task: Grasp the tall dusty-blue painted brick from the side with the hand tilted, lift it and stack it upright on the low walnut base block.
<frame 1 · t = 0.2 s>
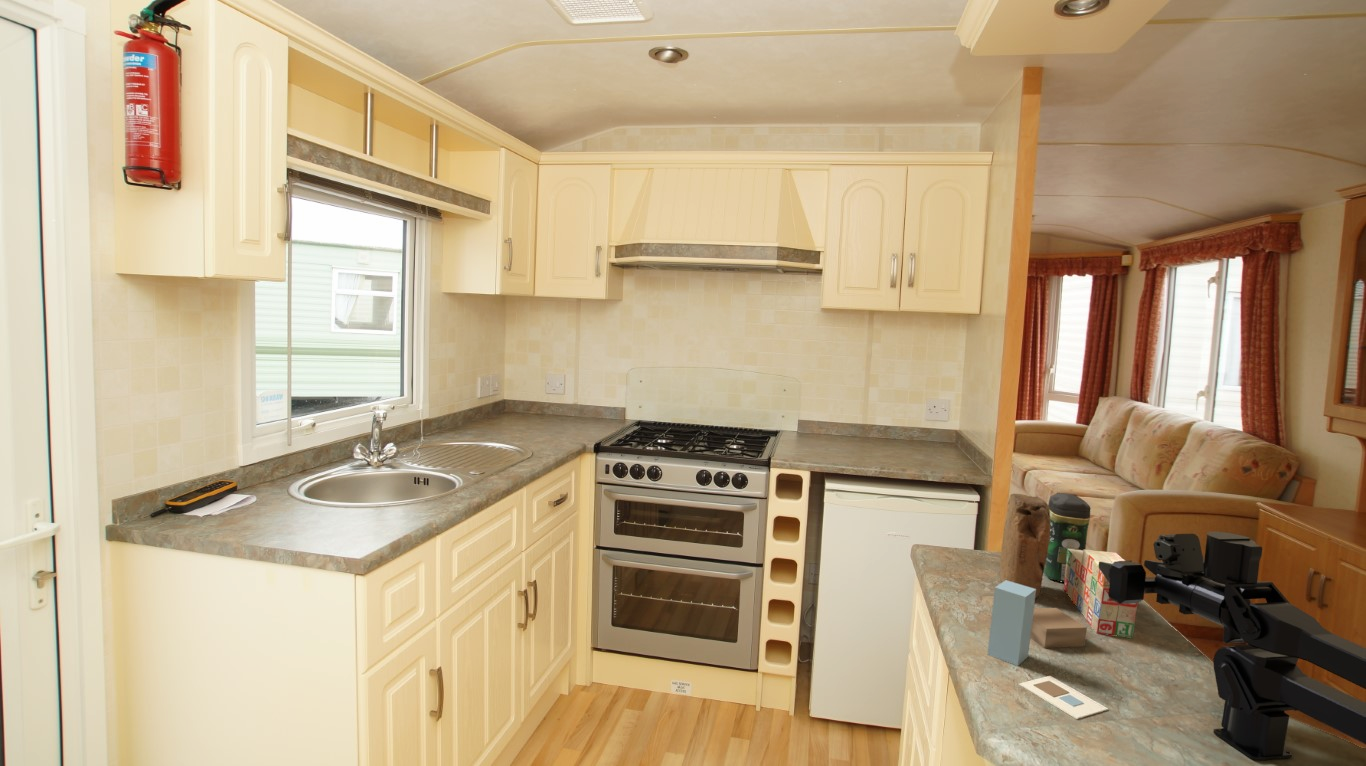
hand: (1122, 563, 125), 17 cm above the countertop, tool horizontal, fingers open, 9 cm apart
block: (1019, 591, 154), on the countertop
walnut base: (1049, 636, 133), on the countertop
stack of blocks: (1094, 613, 145), on the countertop
blue brick: (1007, 655, 125), on the countertop
instruction page: (1062, 696, 112), on the countertop
coffee jar: (1060, 577, 164), on the countertop
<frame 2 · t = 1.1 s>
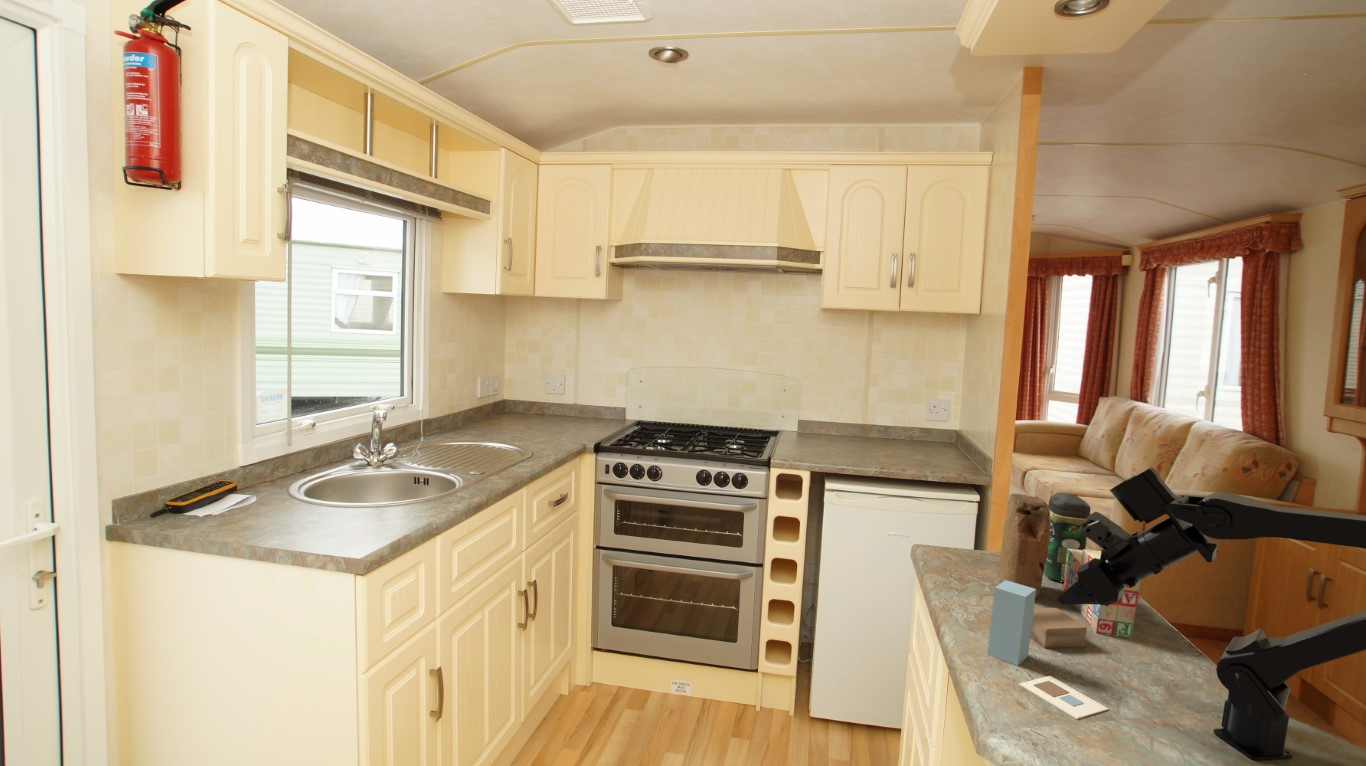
hand: (1068, 594, 118), 14 cm above the countertop, tool tilted 45°, fingers open, 9 cm apart
nothing on the countertop moved.
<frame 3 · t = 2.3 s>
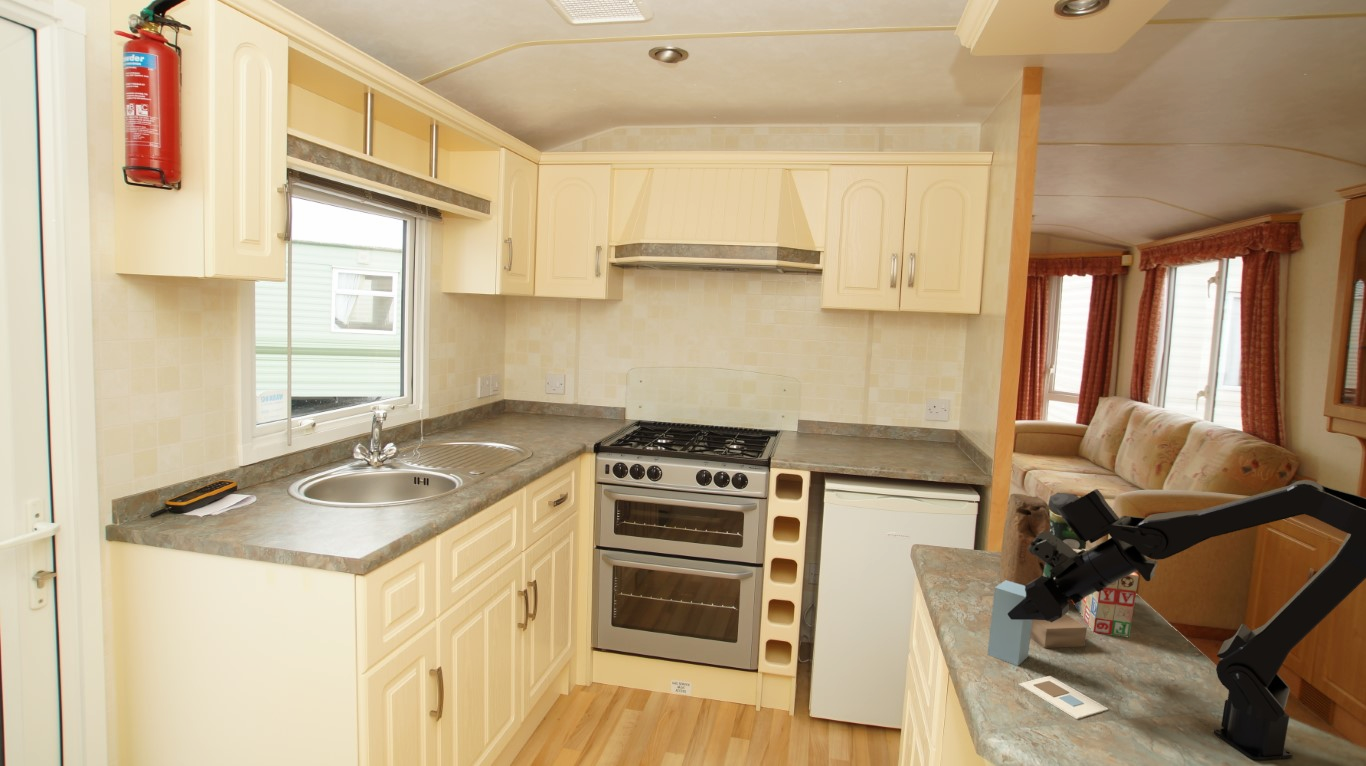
hand: (1019, 608, 123), 9 cm above the countertop, tool tilted 45°, fingers open, 9 cm apart
nothing on the countertop moved.
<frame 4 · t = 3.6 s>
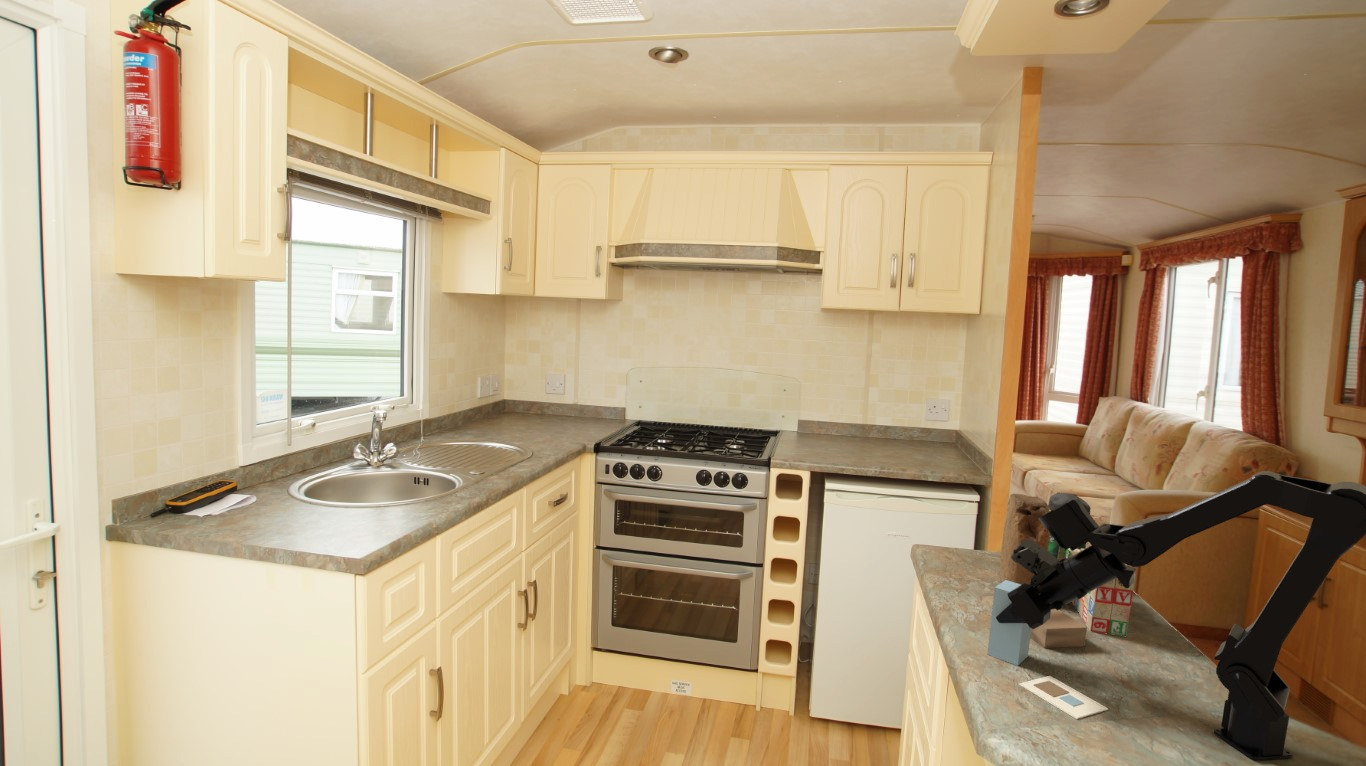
hand: (1003, 615, 125), 7 cm above the countertop, tool tilted 45°, fingers closed on blue brick, 5 cm apart
blue brick: (1007, 655, 125), on the countertop, touching gripper
everything else where it was.
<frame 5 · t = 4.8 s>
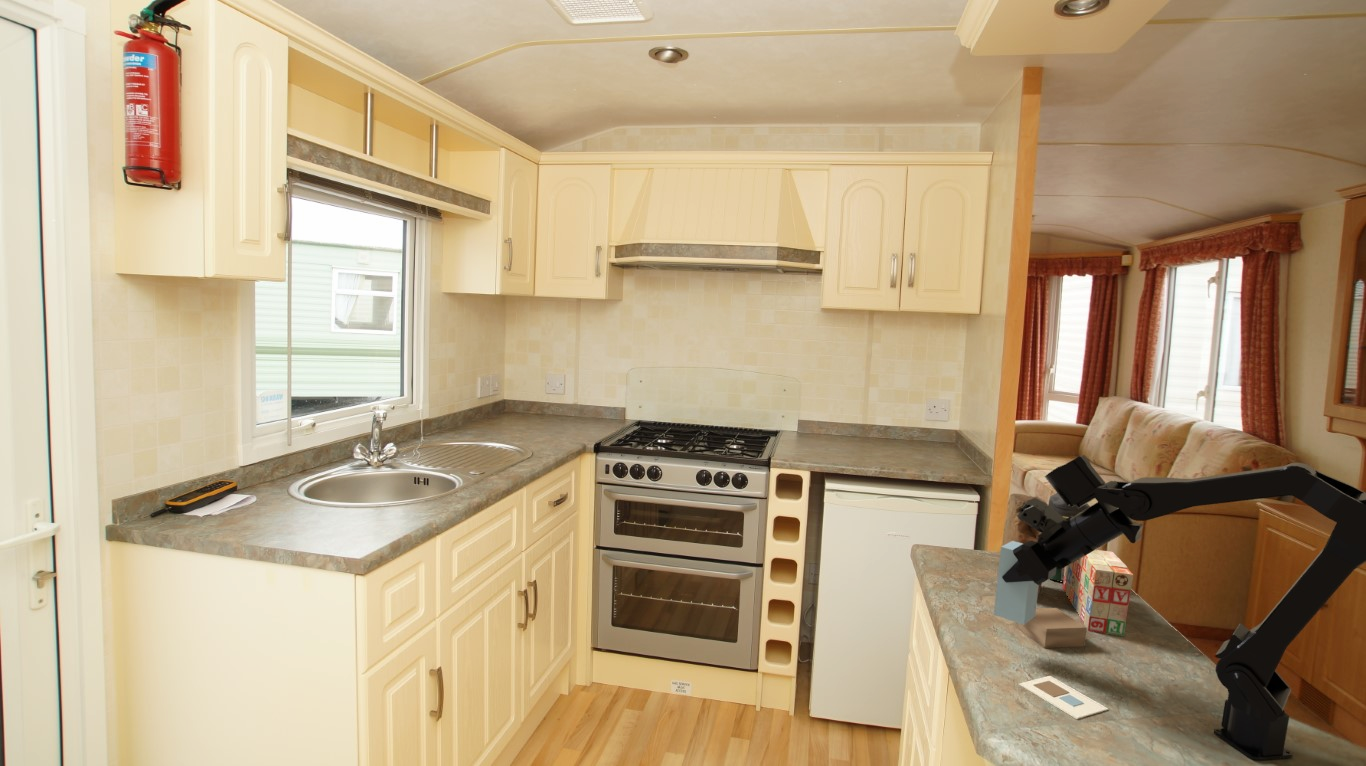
hand: (1010, 575, 125), 13 cm above the countertop, tool tilted 45°, fingers closed on blue brick, 5 cm apart
blue brick: (1014, 615, 125), point 7 cm above the countertop, touching gripper
everything else where it was.
when the fingers open (11 cm above the countertop, at t = 6.5 s): blue brick stays where it is, resting on walnut base.
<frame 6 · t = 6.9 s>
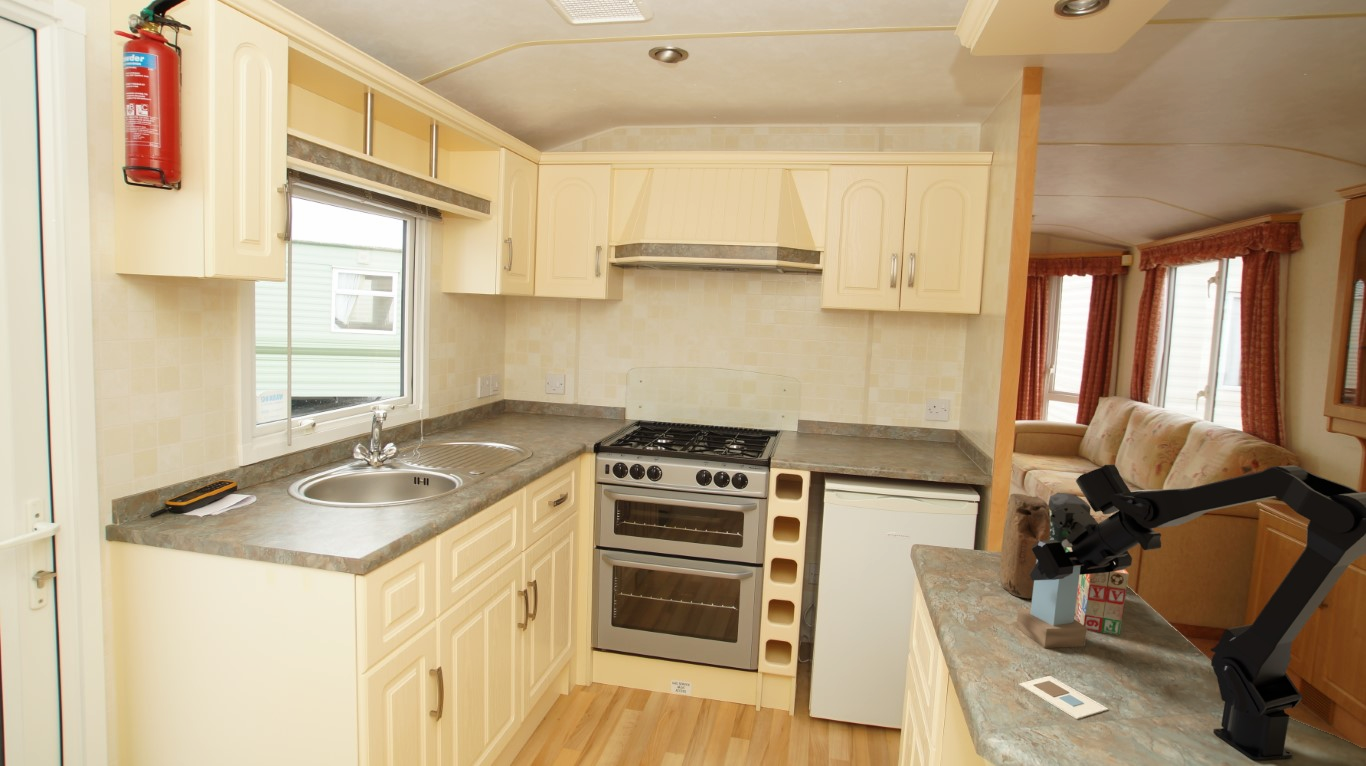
hand: (1050, 575, 133), 11 cm above the countertop, tool tilted 45°, fingers open, 9 cm apart
blue brick: (1051, 618, 133), point 3 cm above the countertop, touching walnut base
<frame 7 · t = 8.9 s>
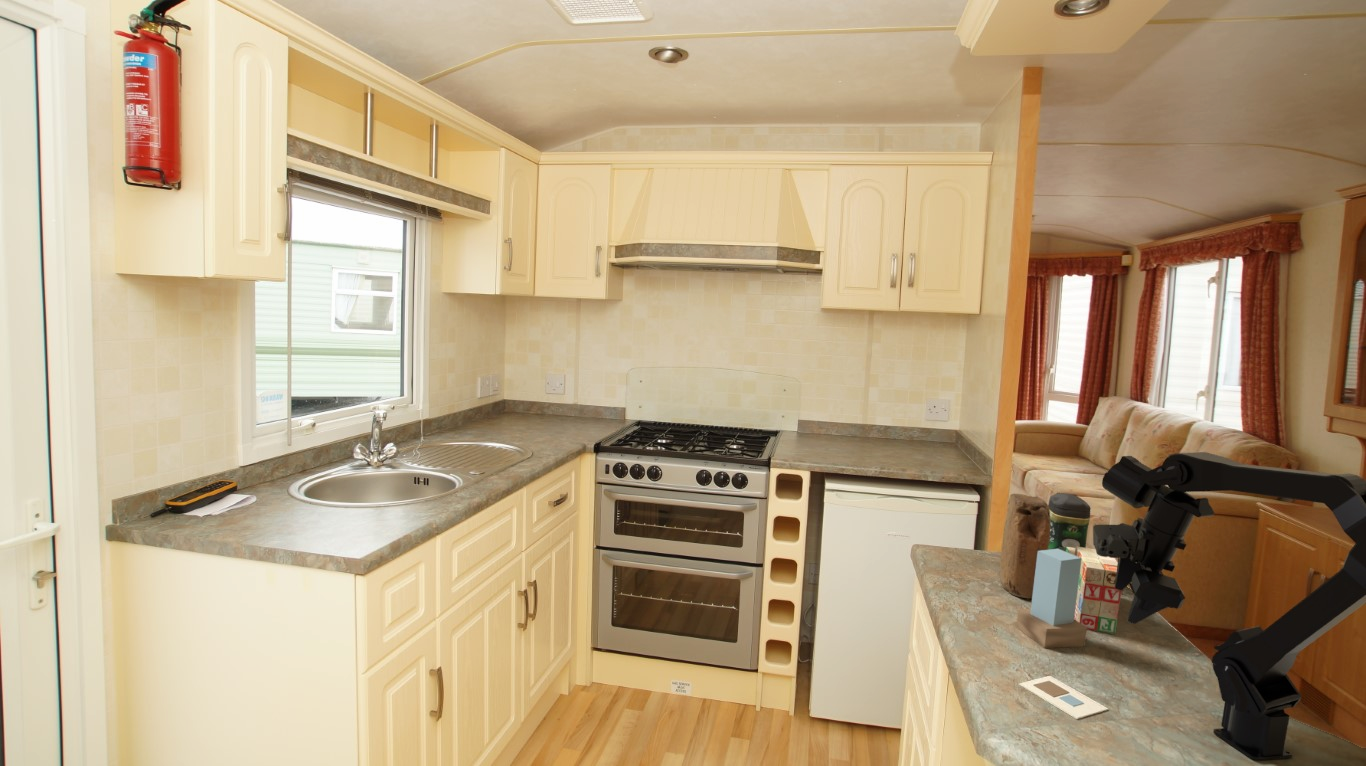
hand: (1124, 605, 119), 12 cm above the countertop, tool tilted 15°, fingers open, 9 cm apart
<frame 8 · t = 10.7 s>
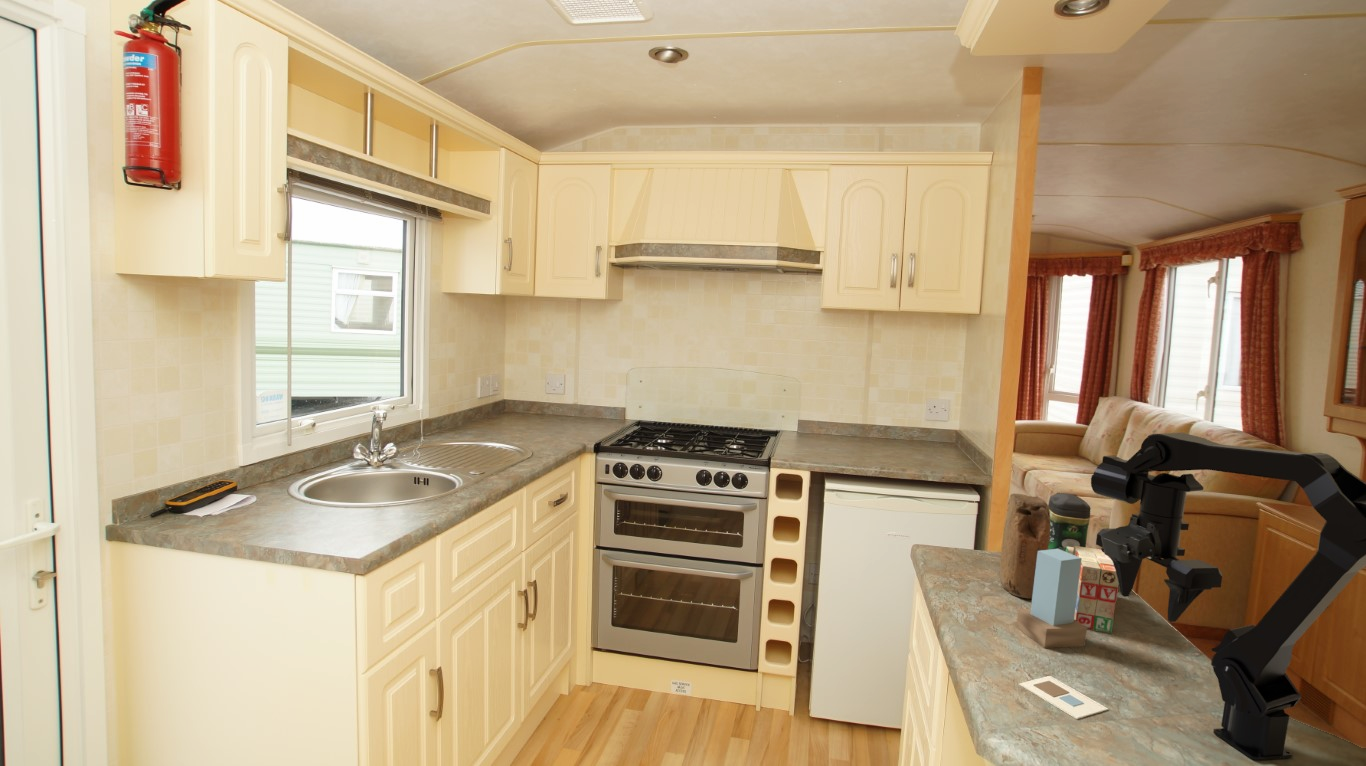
hand: (1147, 608, 115), 13 cm above the countertop, tool pointing down, fingers open, 9 cm apart
at the end: blue brick 0.0 cm off-centre on the walnut base, point 3.5 cm above the walnut base's base; blue brick tilted 0°; the gripper is holding nothing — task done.
